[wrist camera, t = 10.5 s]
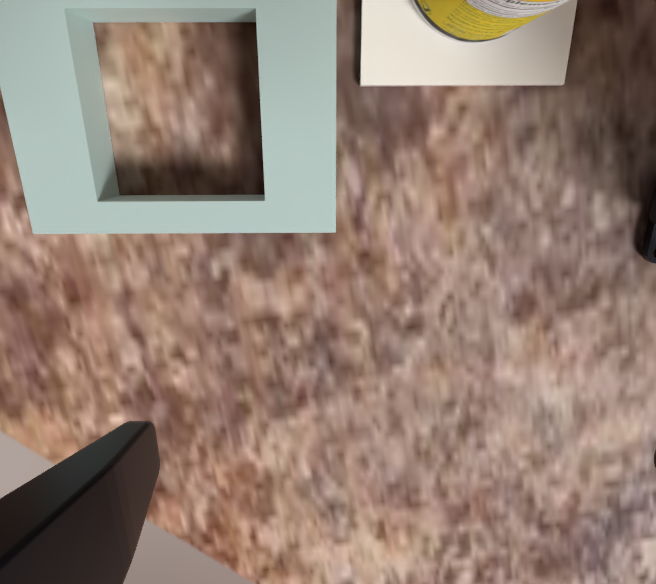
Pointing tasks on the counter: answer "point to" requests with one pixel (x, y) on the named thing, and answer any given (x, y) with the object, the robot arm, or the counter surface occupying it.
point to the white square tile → (460, 50)
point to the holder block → (93, 128)
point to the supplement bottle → (480, 17)
